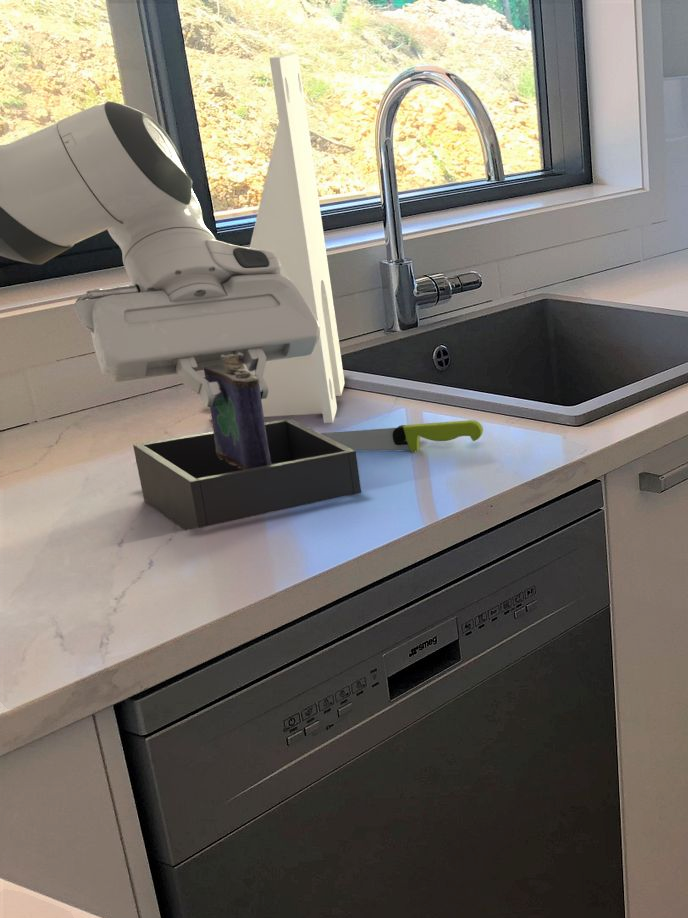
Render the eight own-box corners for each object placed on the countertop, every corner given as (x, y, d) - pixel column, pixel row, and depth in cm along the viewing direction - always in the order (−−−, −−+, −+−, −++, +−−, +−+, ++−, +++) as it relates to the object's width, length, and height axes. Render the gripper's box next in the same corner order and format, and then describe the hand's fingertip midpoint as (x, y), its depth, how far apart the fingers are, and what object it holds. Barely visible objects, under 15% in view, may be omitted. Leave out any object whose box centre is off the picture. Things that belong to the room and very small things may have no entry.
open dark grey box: (201, 542, 127) (190, 482, 125) (144, 501, 138) (132, 444, 135) (363, 507, 137) (356, 451, 135) (298, 471, 148) (290, 418, 145)
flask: (212, 455, 137) (196, 347, 133) (241, 451, 139) (227, 344, 135) (250, 476, 131) (235, 363, 127) (281, 471, 133) (267, 359, 129)
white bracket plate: (227, 389, 179) (168, 52, 163) (344, 383, 183) (298, 53, 166) (202, 429, 162) (133, 57, 145) (332, 422, 165) (279, 57, 149)
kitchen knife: (286, 462, 155) (279, 436, 153) (290, 459, 156) (284, 433, 155) (483, 448, 154) (478, 422, 153) (486, 445, 155) (481, 419, 154)
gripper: (69, 271, 126) (125, 398, 124) (291, 251, 139) (346, 365, 137) (65, 313, 131) (119, 436, 129) (280, 290, 144) (333, 401, 141)
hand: (238, 399), depth 133 cm, fingers closed on flask, 3 cm apart
